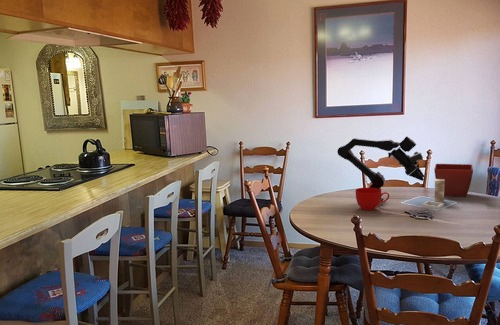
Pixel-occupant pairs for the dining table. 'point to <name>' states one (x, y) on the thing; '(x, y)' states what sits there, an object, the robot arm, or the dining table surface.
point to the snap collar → (433, 205)
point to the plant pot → (455, 178)
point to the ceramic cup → (369, 198)
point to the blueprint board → (421, 199)
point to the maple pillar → (439, 190)
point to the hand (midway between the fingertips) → (423, 178)
